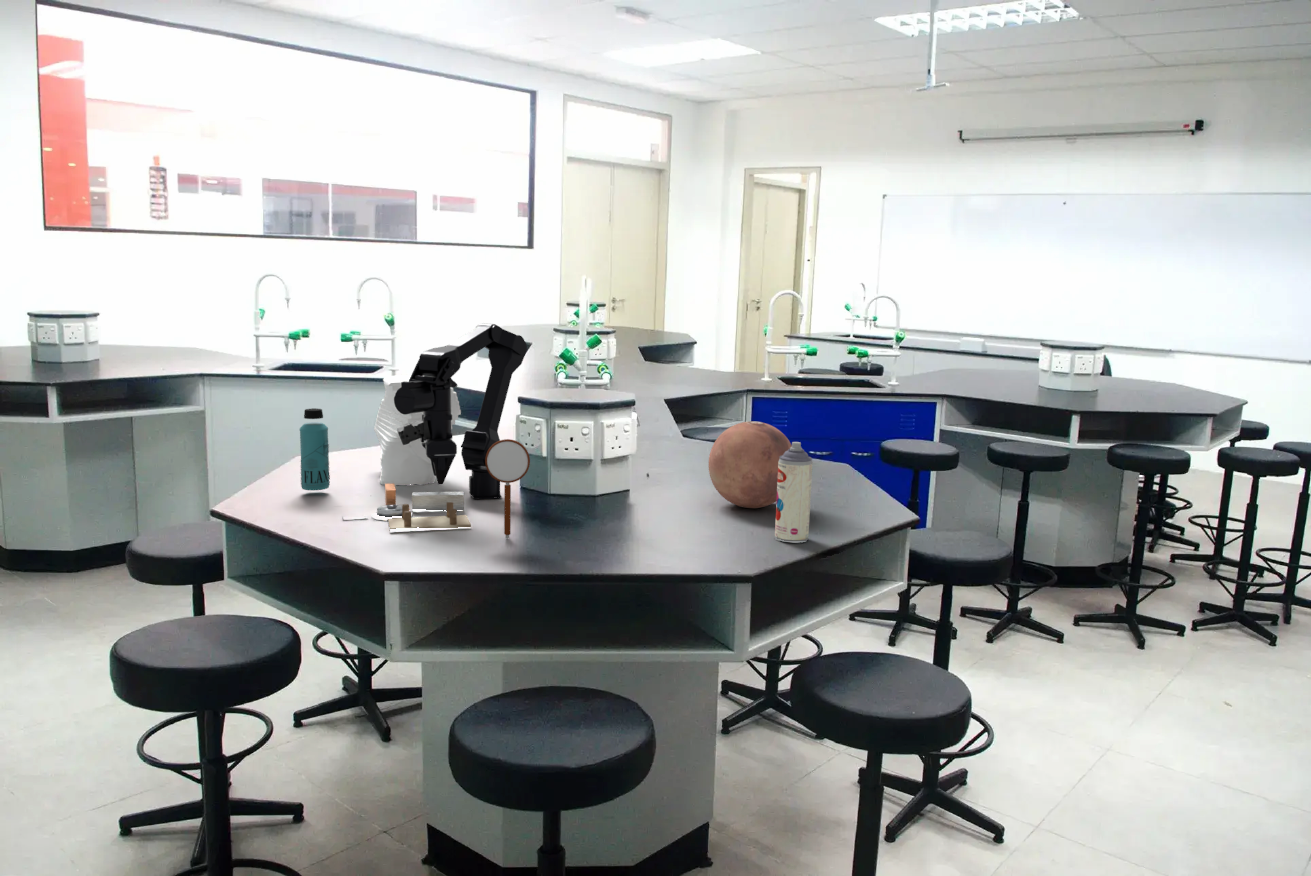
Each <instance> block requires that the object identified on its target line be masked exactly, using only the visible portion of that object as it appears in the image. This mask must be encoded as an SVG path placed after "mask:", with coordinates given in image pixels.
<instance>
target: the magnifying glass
mask: <svg viewBox="0 0 1311 876" xmlns="http://www.w3.org/2000/svg"><path fill="white" fill-rule="evenodd" d="M485 464H486V468H487V470H488V472H489V474H490V475H491V476H492V477H493V478H494V479H496V480H498V481H500V483H504V495H503V496H504V499H503V500H504V502H503V503H504V505H503V507H504V508H503V509H504V513H503V514H504V515H503V516H504V519H503V521H504V523H503V524H504V527H503V528H504V529H503V531H504V532H503V533H504V535H505V539H506V538H509V539H510V535H511V523H512V522H511V516H512V515H511V511H512V510H511V507H512V506H511V503H512V501H511V499H512V497H511V495H512V494H511V490H512V488H511V486H512V484H511V483H514V482H518V481H520V480H521V479H523V478H524V477H525V476H526V474H527V473H528V471H529V468H530V465H531V457H530V454H529V451H528V450H527V448H526V447H525V446H524V445H523V444H522V443H521V442H520V441H517V440H514V439H509V438H507V439H506V438H504V439H500V441H498V442H496V443H494V444H493V445H492V446H491V447H490V448H489V450H488V451H487V454H486V458H485Z"/></svg>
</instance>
